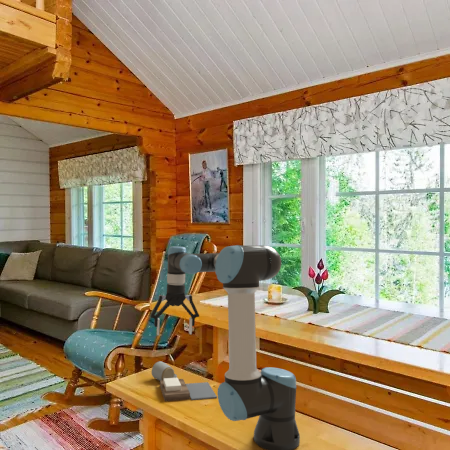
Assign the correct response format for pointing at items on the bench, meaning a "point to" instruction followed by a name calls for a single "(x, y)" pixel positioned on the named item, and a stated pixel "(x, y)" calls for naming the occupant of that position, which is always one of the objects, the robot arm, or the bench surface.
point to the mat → (200, 391)
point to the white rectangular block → (172, 384)
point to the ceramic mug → (162, 371)
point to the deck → (175, 392)
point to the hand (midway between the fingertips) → (174, 334)
